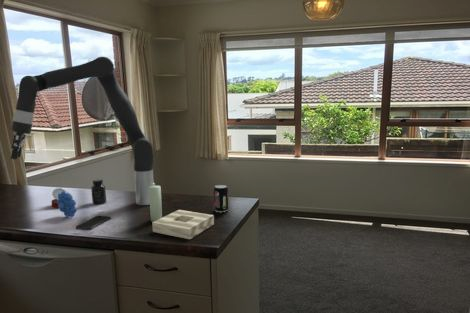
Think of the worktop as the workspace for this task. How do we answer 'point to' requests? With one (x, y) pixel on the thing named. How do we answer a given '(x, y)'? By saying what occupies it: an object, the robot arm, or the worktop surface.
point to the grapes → (66, 204)
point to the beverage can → (220, 198)
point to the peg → (155, 202)
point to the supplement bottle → (98, 192)
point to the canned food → (56, 197)
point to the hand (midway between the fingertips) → (15, 158)
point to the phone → (93, 222)
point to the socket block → (183, 224)
